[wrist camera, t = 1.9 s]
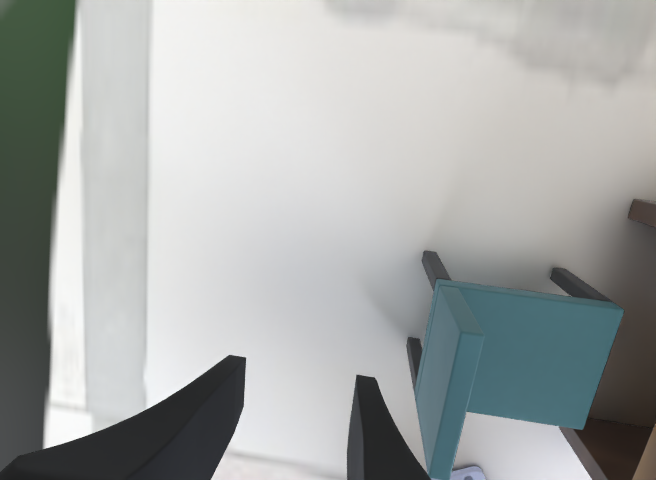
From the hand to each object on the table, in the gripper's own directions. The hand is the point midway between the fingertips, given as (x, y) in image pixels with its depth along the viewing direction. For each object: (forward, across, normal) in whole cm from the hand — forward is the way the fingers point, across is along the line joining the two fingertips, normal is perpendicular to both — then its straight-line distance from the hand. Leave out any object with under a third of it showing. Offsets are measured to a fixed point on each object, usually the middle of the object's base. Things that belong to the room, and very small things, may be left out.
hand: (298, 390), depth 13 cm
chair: (+9, -9, 0) cm, 13 cm away
